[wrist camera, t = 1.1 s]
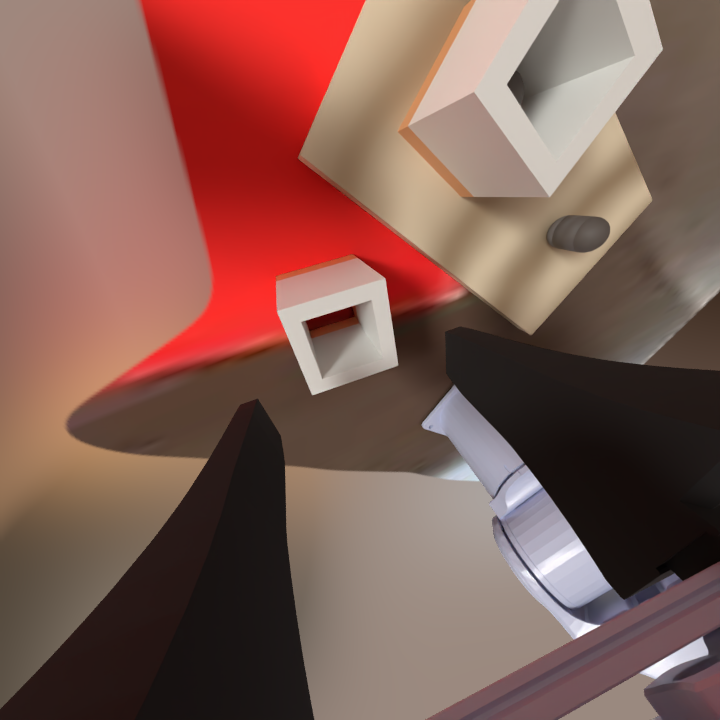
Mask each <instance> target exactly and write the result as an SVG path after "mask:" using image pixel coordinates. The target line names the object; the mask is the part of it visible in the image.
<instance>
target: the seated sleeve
mask: <svg viewBox="0 0 720 720" xmlns="http://www.w3.org/2000/svg"><path fill="white" fill-rule="evenodd" d="M662 50H663V48H662V44H661V41H660V37H659V33H658V30H657V26H656V23H655V19H654V15H653V12H652V8H651V5H650V1H649V0H471V1H470V2H469V3H467V4H466V5H465V6H464V8H463V10H462V12H461V13H460V15H459V17H458V19H457V21H456V23H455V25H454V27H453V28H452V30H451V32H450V34H449V36H448V38H447V40H446V42H445V43H444V45H443V47H442V49H441V51H440V53H439V55H438V57H437V58H436V60H435V62H434V64H433V66H432V68H431V70H430V72H429V73H428V75H427V77H426V79H425V81H424V83H423V85H422V87H421V88H420V90H419V92H418V94H417V96H416V98H415V100H414V102H413V103H412V105H411V107H410V109H409V111H408V113H407V115H406V117H405V118H404V120H403V122H402V124H401V126H400V128H399V130H398V133H399V134H400V135H401V136H402V137H403V138H404V139H405V140H406V141H407V142H408V143H409V144H410V145H411V146H412V147H413V148H414V149H415V150H416V151H417V152H418V153H419V154H420V155H421V156H422V157H423V158H424V159H425V160H426V161H427V162H428V163H429V165H430V166H431V167H432V168H433V169H434V170H435V171H436V172H437V173H438V174H439V175H440V176H441V177H442V178H443V179H444V180H445V181H446V182H447V183H448V184H449V185H450V186H451V187H452V188H453V189H454V190H455V191H456V192H457V193H458V194H459V195H460V196H461V197H550V196H551V195H552V194H553V192H554V191H555V190H556V188H557V187H558V186H559V185H560V183H561V182H562V181H563V179H564V178H565V177H566V175H567V174H568V173H569V171H570V170H571V169H572V168H573V166H574V165H575V164H576V162H577V161H578V160H579V158H580V157H581V156H582V154H583V153H584V152H585V151H586V149H587V148H588V147H589V145H590V144H591V143H592V141H593V140H594V139H595V137H596V136H597V135H598V134H599V132H600V131H601V130H602V128H603V127H604V126H605V124H606V123H607V122H608V121H609V119H610V118H611V117H612V115H613V114H614V113H615V111H616V110H617V109H618V107H619V106H620V105H621V104H622V102H623V101H624V100H625V98H626V97H627V96H628V94H629V93H630V92H631V90H632V89H633V88H634V87H635V85H636V84H637V83H638V81H639V80H640V79H641V77H642V76H643V75H644V73H645V72H646V71H647V70H648V68H649V67H650V66H651V64H652V63H653V62H654V60H655V59H656V58H657V56H658V55H659V54H660V53H661V51H662ZM515 71H518V72H519V73H520V75H521V77H522V79H523V83H524V96H523V100H522V103H521V106H520V105H519V103H518V102H517V100H516V98H515V97H514V95H513V94H512V92H511V91H510V89H509V87H508V86H507V83H508V82H509V80H510V79H511V77H512V75H513V74H514V72H515Z"/></svg>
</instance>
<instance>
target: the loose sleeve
mask: <svg viewBox="0 0 720 720" xmlns="http://www.w3.org/2000/svg"><path fill="white" fill-rule="evenodd" d="M276 297H277V312H278V315H279V317H280V320H281V322H282V324H283V327H284V329H285V331H286V334H287V336H288V339H289V341H290V343H291V346H292V348H293V350H294V353H295V355H296V358H297V360H298V362H299V365H300V367H301V369H302V372H303V374H304V377H305V379H306V381H307V384H308V386H309V388H310V391H311V393H312V395H315V394H318V393H320V392H323V391H326V390H329V389H332V388H335V387H338V386H341V385H344V384H346V383H349V382H352V381H355V380H358V379H361V378H364V377H367V376H370V375H373V374H375V373H378V372H381V371H384V370H387V369H390V368H393V367H396V366H398V360H397V353H396V346H395V340H394V333H393V326H392V320H391V313H390V306H389V299H388V293H387V286H386V279H385V278H384V277H383V276H382V275H380V274H379V273H377V272H376V271H375V270H373V269H372V268H371V267H369V266H368V265H367V264H365V263H364V262H362V261H361V260H360V259H358V258H357V257H356V256H354V255H353V254H351V255H348V256H344V257H341V258H337V259H334V260H330V261H327V262H324V263H320V264H317V265H313V266H310V267H306V268H303V269H299V270H296V271H292V272H289V273H285V274H282V275H278V276H276ZM351 306H352V308H353V312H354V316H355V317H352V318H349V319H346V320H343V321H339V322H336V323H333V324H330V325H327V326H324V327H320V328H317V329H314V330H311V331H309V328H308V325H307V323H306V320H309V319H312V318H315V317H319V316H322V315H325V314H328V313H331V312H335V311H338V310H341V309H344V308H348V307H351Z"/></svg>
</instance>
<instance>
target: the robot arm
mask: <svg viewBox="0 0 720 720" xmlns="http://www.w3.org/2000/svg"><path fill="white" fill-rule="evenodd" d="M445 338H446V373H447V375H448V376H449V378H450V379H451V381H452V382H453V383H454V386H453V387H452V388H451V389H450V391H449V392H448V393H447V394H446V395H445V396H444V398H443V399H442V400H441V401H440V402H439V404H438V405H437V406H436V407H435V408H434V410H433V411H432V412H431V413H430V414H429V415H428V417H427V418H426V419H425V420H424V421H423V423H422V427H423V428H424V429H426V430H430V431H433V432H436V433H439V434H442V435H446V436H448V438H449V439H450V440H451V442H452V443H453V444H454V446H455V447H456V449H457V450H458V451H459V453H460V454H461V455H462V457H463V458H464V460H465V461H466V462H467V464H468V465H469V466H470V468H471V469H472V471H473V472H474V473H475V475H476V476H477V478H478V479H479V480H480V482H481V483H482V484H483V486H484V487H485V488H486V490H487V491H488V493H489V494H490V495H491V497H492V498H493V500H492V501H491V502H490V503H489V505H490V506H491V508H492V509H493V510H494V512H495V513H496V516H495V517H493V519H492V525H493V534H494V538H495V541H496V543H497V545H498V547H499V549H500V551H501V553H502V555H503V557H504V558H505V560H506V562H507V563H508V565H509V566H510V568H511V569H512V571H513V572H514V574H515V575H516V576H517V578H518V579H519V580H520V582H521V583H522V584H523V585H524V586H525V588H526V589H527V590H528V591H529V592H530V593H531V595H532V596H533V597H534V598H535V599H536V600H537V601H538V602H540V603H541V604H542V605H543V606H544V607H546V608H547V609H548V610H549V611H550V612H551V614H552V615H553V616H554V617H555V618H556V619H557V620H558V621H559V622H560V624H561V625H562V626H563V627H564V628H565V630H566V631H567V632H568V633H569V634H570V636H571V637H572V638H573V639H574V640H573V641H571V642H569V643H567V644H565V645H563V646H562V647H560V648H558V649H556V650H554V651H552V652H550V653H549V654H547V655H545V656H543V657H541V658H539V659H537V660H536V661H534V662H532V663H530V664H528V665H526V666H524V667H522V668H521V669H519V670H517V671H515V672H513V673H511V674H509V675H508V676H506V677H504V678H502V679H500V680H498V681H497V682H495V683H493V684H491V685H489V686H487V687H485V688H483V689H482V690H480V691H478V692H476V693H474V694H472V695H470V696H469V697H467V698H465V699H463V700H461V701H459V702H457V703H456V704H454V705H452V706H450V707H448V708H446V709H444V710H442V711H441V712H439V713H437V714H435V715H433V716H431V717H430V718H428V719H426V720H558V719H560V718H562V717H563V716H565V715H567V714H569V713H570V712H572V711H574V710H576V709H577V708H579V707H581V706H582V705H584V704H586V703H588V702H590V701H591V700H593V699H595V698H596V697H598V696H600V695H602V694H603V693H605V692H607V691H609V690H610V689H612V688H614V687H616V686H617V685H619V684H621V683H622V682H624V681H626V680H628V679H629V678H631V677H633V676H635V675H636V674H638V673H640V674H643V675H646V676H648V677H651V678H654V679H655V680H654V681H653V682H652V683H651V684H650V685H648V686H647V687H646V688H645V689H644V695H645V697H646V698H647V700H648V701H649V702H650V704H651V705H652V706H653V708H654V709H655V710H656V712H657V713H658V714H659V716H657V717H656V718H653V719H651V720H720V371H715V370H699V369H684V368H671V367H659V366H648V365H640V364H632V363H623V362H615V361H608V360H601V359H595V358H589V357H583V356H577V355H572V354H567V353H562V352H557V351H553V350H548V349H544V348H540V347H535V346H531V345H527V344H523V343H520V342H516V341H512V340H509V339H505V338H501V337H498V336H494V335H491V334H487V333H484V332H480V331H477V330H473V329H469V328H464V327H457V328H455V329H452V330H449V331H446V332H445ZM0 720H314V716H313V711H312V706H311V700H310V694H309V689H308V683H307V677H306V672H305V666H304V660H303V654H302V649H301V642H300V635H299V629H298V622H297V616H296V609H295V601H294V595H293V587H292V579H291V571H290V563H289V554H288V546H287V533H286V495H285V461H284V453H283V447H282V441H281V435H280V434H279V432H278V431H277V429H276V427H275V426H274V424H273V423H272V421H271V419H270V418H269V416H268V415H267V413H266V411H265V410H264V408H263V406H262V405H261V403H260V402H259V400H258V399H255V400H253V401H250V402H247V403H244V404H241V405H240V406H239V408H238V409H237V411H236V413H235V415H234V416H233V418H232V420H231V422H230V424H229V425H228V427H227V429H226V431H225V432H224V434H223V436H222V438H221V439H220V441H219V443H218V445H217V446H216V448H215V450H214V451H213V453H212V455H211V457H210V458H209V460H208V461H207V463H206V465H205V466H204V468H203V469H202V471H201V472H200V474H199V475H198V477H197V479H196V480H195V482H194V483H193V485H192V486H191V488H190V489H189V491H188V492H187V494H186V495H185V497H184V498H183V500H182V501H181V503H180V504H179V505H178V507H177V508H176V510H175V511H174V512H173V514H172V515H171V516H170V518H169V519H168V521H167V522H166V523H165V524H164V526H163V527H162V528H161V530H160V531H159V532H158V534H157V535H156V536H155V538H154V539H153V540H152V541H151V543H150V544H149V545H148V546H147V547H146V549H145V550H144V551H143V552H142V554H141V555H140V556H139V557H138V558H137V560H136V561H135V562H134V563H133V564H132V566H131V567H130V568H129V569H128V571H127V572H126V573H125V574H124V575H123V577H122V578H121V579H120V580H119V582H118V583H117V584H116V585H115V586H114V588H113V589H112V590H111V591H110V592H109V593H108V595H107V596H106V597H105V598H104V599H103V600H102V601H101V602H100V603H99V605H98V606H97V607H96V608H95V609H94V610H93V612H91V614H90V615H89V616H88V617H87V618H86V619H85V621H83V623H82V624H81V625H80V626H79V627H78V628H77V629H76V630H75V631H74V632H73V633H72V635H71V636H70V637H69V638H68V639H67V640H66V641H65V642H64V643H63V644H62V645H61V646H60V648H59V649H58V650H57V651H56V652H55V653H54V654H53V655H52V656H51V657H50V658H49V659H48V660H47V662H46V663H45V664H44V665H43V666H42V667H41V668H40V669H39V670H38V671H37V672H36V673H35V674H34V675H33V676H32V677H31V678H30V679H29V680H28V681H27V682H26V683H25V684H24V685H23V686H22V687H21V689H20V690H19V691H18V692H17V693H16V694H15V695H14V696H13V697H12V698H11V699H10V700H9V701H8V702H7V703H6V704H5V705H4V706H3V707H2V708H1V709H0Z"/></svg>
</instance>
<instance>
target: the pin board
mask: <svg viewBox="0 0 720 720" xmlns="http://www.w3.org/2000/svg"><path fill="white" fill-rule="evenodd" d="M470 1H471V0H366V1H365V3H364V5H363V8H362V10H361V12H360V15H359V17H358V19H357V22H356V24H355V26H354V28H353V31H352V33H351V35H350V38H349V40H348V42H347V45H346V47H345V49H344V52H343V54H342V56H341V59H340V61H339V63H338V66H337V68H336V70H335V73H334V75H333V77H332V79H331V82H330V84H329V86H328V89H327V91H326V93H325V96H324V98H323V100H322V103H321V105H320V107H319V110H318V112H317V114H316V117H315V119H314V121H313V123H312V126H311V128H310V130H309V133H308V135H307V137H306V140H305V142H304V144H303V147H302V149H301V151H300V154H299V156H298V159H299V160H300V161H301V162H303V163H304V164H305V165H307V166H308V167H309V168H311V169H312V170H313V171H314V172H316V173H317V174H318V175H320V176H321V177H322V178H323V179H325V180H326V181H327V182H329V183H330V184H331V185H333V186H334V187H335V188H336V189H338V190H339V191H340V192H342V193H343V194H344V195H346V196H347V197H348V198H349V199H351V200H352V201H353V202H355V203H356V204H357V205H359V206H360V207H361V208H362V209H364V210H365V211H366V212H368V213H369V214H370V215H372V216H373V217H374V218H375V219H377V220H378V221H379V222H381V223H382V224H383V225H385V226H386V227H387V228H388V229H390V230H391V231H392V232H394V233H395V234H396V235H398V236H399V237H400V238H401V239H403V240H404V241H405V242H407V243H408V244H409V245H410V246H412V247H413V248H414V249H416V250H417V251H418V252H420V253H421V254H422V255H423V256H425V257H426V258H427V259H429V260H430V261H431V262H433V263H434V264H435V265H436V266H438V267H439V268H440V269H442V270H443V271H444V272H446V273H447V274H448V275H449V276H451V277H452V278H453V279H455V280H456V281H457V282H459V283H460V284H461V285H462V286H464V287H465V288H466V289H468V290H469V291H470V292H472V293H473V294H474V295H475V296H477V297H478V298H479V299H481V300H482V301H483V302H485V303H486V304H487V305H488V306H490V307H491V308H492V309H494V310H495V311H496V312H498V313H499V314H500V315H501V316H503V317H504V318H505V319H507V320H508V321H509V322H510V323H512V324H513V325H514V326H516V327H517V328H518V329H520V330H522V331H524V332H526V333H528V334H529V335H532V334H533V333H534V332H535V331H536V330H537V329H538V328H539V326H540V325H541V324H542V323H543V322H544V321H545V320H546V319H547V317H548V316H549V315H550V314H551V313H552V312H553V311H554V310H555V309H556V307H557V306H558V305H559V304H560V303H561V302H562V301H563V300H564V298H565V297H566V296H567V295H568V294H569V293H570V292H571V291H572V290H573V288H574V287H575V286H576V285H577V284H578V283H579V282H580V281H581V279H582V278H583V277H584V276H585V275H586V274H587V273H588V272H589V271H590V269H591V268H592V267H593V266H594V265H595V264H596V263H597V262H598V260H599V259H600V258H601V257H602V256H603V255H604V254H605V253H606V252H607V250H608V249H609V248H610V247H611V246H612V245H613V244H614V243H615V242H616V240H617V239H618V238H619V237H620V236H621V235H622V234H623V233H624V231H625V230H626V229H627V228H628V227H629V226H630V225H631V224H632V223H633V221H634V220H635V219H636V218H637V217H638V216H639V215H640V214H641V212H642V211H643V210H644V209H645V208H646V207H647V206H648V205H649V204H650V202H651V201H652V198H651V195H650V193H649V191H648V188H647V186H646V184H645V181H644V179H643V177H642V174H641V172H640V170H639V167H638V165H637V163H636V160H635V158H634V155H633V153H632V151H631V148H630V146H629V144H628V141H627V139H626V137H625V134H624V132H623V130H622V127H621V125H620V123H619V120H618V118H617V116H616V113H614V114H613V115H612V117H611V118H610V119H609V121H608V122H607V123H606V124H605V126H604V127H603V128H602V130H601V131H600V132H599V134H598V135H597V136H596V137H595V139H594V140H593V141H592V143H591V144H590V145H589V147H588V148H587V149H586V151H585V152H584V153H583V154H582V156H581V157H580V158H579V160H578V161H577V162H576V164H575V165H574V166H573V168H572V169H571V170H570V171H569V173H568V174H567V175H566V177H565V178H564V179H563V181H562V182H561V183H560V185H559V186H558V187H557V188H556V190H555V191H554V192H553V194H552V195H551V196H550V197H461V196H460V195H459V194H458V193H457V192H456V191H455V190H454V189H453V188H452V187H451V186H450V185H449V184H448V183H447V182H446V181H445V180H444V179H443V178H442V177H441V176H440V175H439V174H438V173H437V172H436V171H435V170H434V169H433V168H432V167H431V166H430V165H429V163H428V162H427V161H426V160H425V159H424V158H423V157H422V156H421V155H420V154H419V153H418V152H417V151H416V150H415V149H414V148H413V147H412V146H411V145H410V144H409V143H408V142H407V141H406V140H405V139H404V138H403V137H402V136H401V135H400V134H399V133H398V130H399V128H400V126H401V124H402V122H403V120H404V118H405V117H406V115H407V113H408V111H409V109H410V107H411V105H412V103H413V102H414V100H415V98H416V96H417V94H418V92H419V90H420V88H421V87H422V85H423V83H424V81H425V79H426V77H427V75H428V73H429V72H430V70H431V68H432V66H433V64H434V62H435V60H436V58H437V57H438V55H439V53H440V51H441V49H442V47H443V45H444V43H445V42H446V40H447V38H448V36H449V34H450V32H451V30H452V28H453V27H454V25H455V23H456V21H457V19H458V17H459V15H460V13H461V12H462V10H463V8H464V6H465V5H466V4H467V3H469V2H470ZM507 86H508V87H509V89H510V91H511V92H512V94H513V95H514V97H515V98H516V100H517V102H518V103H519V105H520V106H521V103H522V100H523V96H524V83H523V79H522V77H521V75H520V73H519V72H518V71H515V72H514V74H513V75H512V77H511V79H510V80H509V82H508V83H507Z"/></svg>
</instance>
